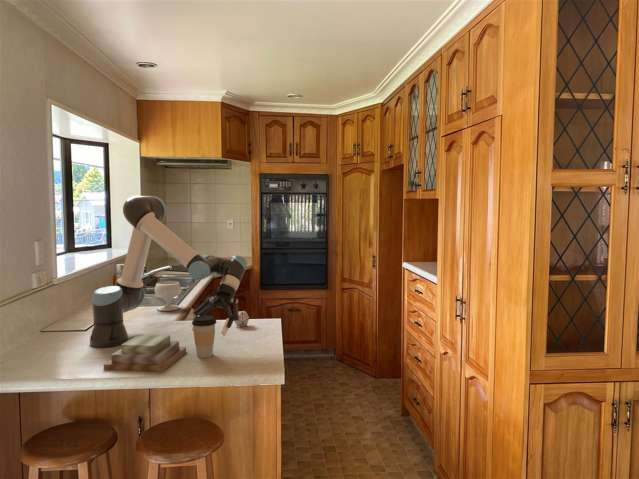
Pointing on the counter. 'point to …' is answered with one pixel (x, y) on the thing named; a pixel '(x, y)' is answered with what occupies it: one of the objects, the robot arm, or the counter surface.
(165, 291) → the chalice
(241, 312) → the game die
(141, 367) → the tower base
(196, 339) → the coffee cup
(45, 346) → the counter surface
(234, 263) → the robot arm
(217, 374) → the counter surface
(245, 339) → the counter surface
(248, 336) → the counter surface
